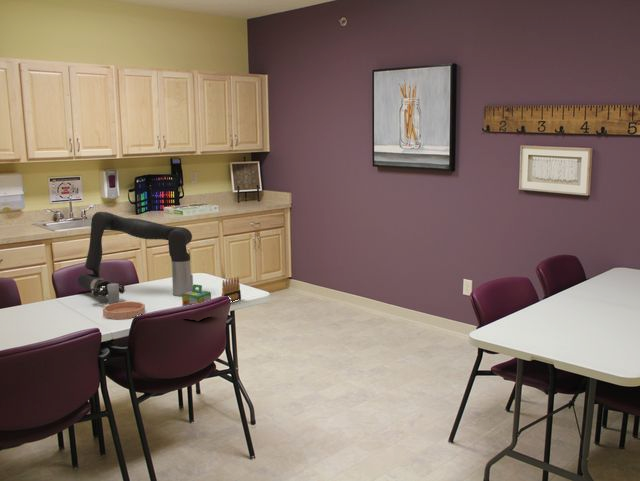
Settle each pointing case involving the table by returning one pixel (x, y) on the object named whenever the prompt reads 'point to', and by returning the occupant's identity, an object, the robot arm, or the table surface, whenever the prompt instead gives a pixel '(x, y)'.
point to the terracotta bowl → (123, 310)
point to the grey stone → (113, 293)
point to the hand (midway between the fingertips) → (114, 293)
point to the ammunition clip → (231, 289)
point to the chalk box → (195, 296)
